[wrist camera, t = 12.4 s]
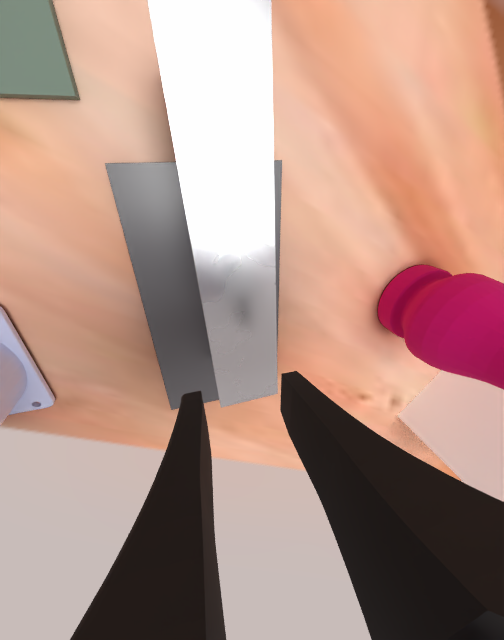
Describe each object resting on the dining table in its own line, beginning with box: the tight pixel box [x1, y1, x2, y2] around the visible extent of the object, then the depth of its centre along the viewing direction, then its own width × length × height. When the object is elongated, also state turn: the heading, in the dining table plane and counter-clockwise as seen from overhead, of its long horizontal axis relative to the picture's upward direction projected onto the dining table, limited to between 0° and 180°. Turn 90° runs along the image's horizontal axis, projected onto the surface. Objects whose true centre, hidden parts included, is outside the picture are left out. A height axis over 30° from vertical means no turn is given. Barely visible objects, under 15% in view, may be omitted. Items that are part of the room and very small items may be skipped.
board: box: [105, 160, 282, 410], centre depth 17 cm, size 9×17×1 cm, turn 2°
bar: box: [148, 0, 278, 407], centre depth 13 cm, size 4×16×5 cm, turn 4°
